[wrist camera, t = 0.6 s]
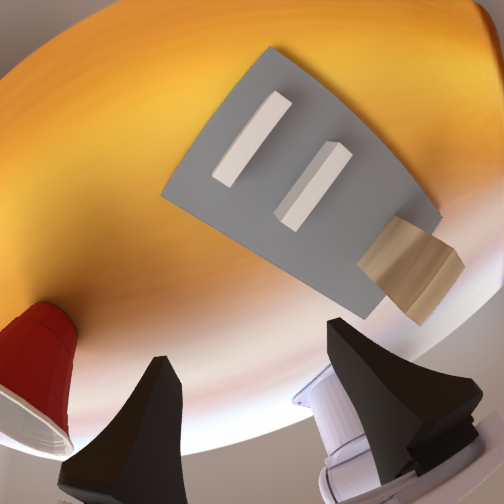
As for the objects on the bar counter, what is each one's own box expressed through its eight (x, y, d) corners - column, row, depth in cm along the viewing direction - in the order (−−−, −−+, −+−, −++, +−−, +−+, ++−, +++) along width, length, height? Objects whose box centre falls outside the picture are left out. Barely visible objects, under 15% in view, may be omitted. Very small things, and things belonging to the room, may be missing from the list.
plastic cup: (53, 373, 22) (23, 457, 11) (-3, 296, 18) (-62, 373, 7) (123, 358, 23) (102, 468, 12) (61, 262, 18) (-17, 362, 7)
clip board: (435, 214, 21) (457, 224, 18) (359, 313, 24) (374, 332, 21) (266, 50, 14) (276, 35, 12) (162, 192, 17) (153, 202, 15)
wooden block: (408, 230, 20) (465, 267, 14) (372, 277, 21) (420, 326, 15) (393, 214, 19) (454, 248, 13) (355, 264, 21) (405, 314, 14)
